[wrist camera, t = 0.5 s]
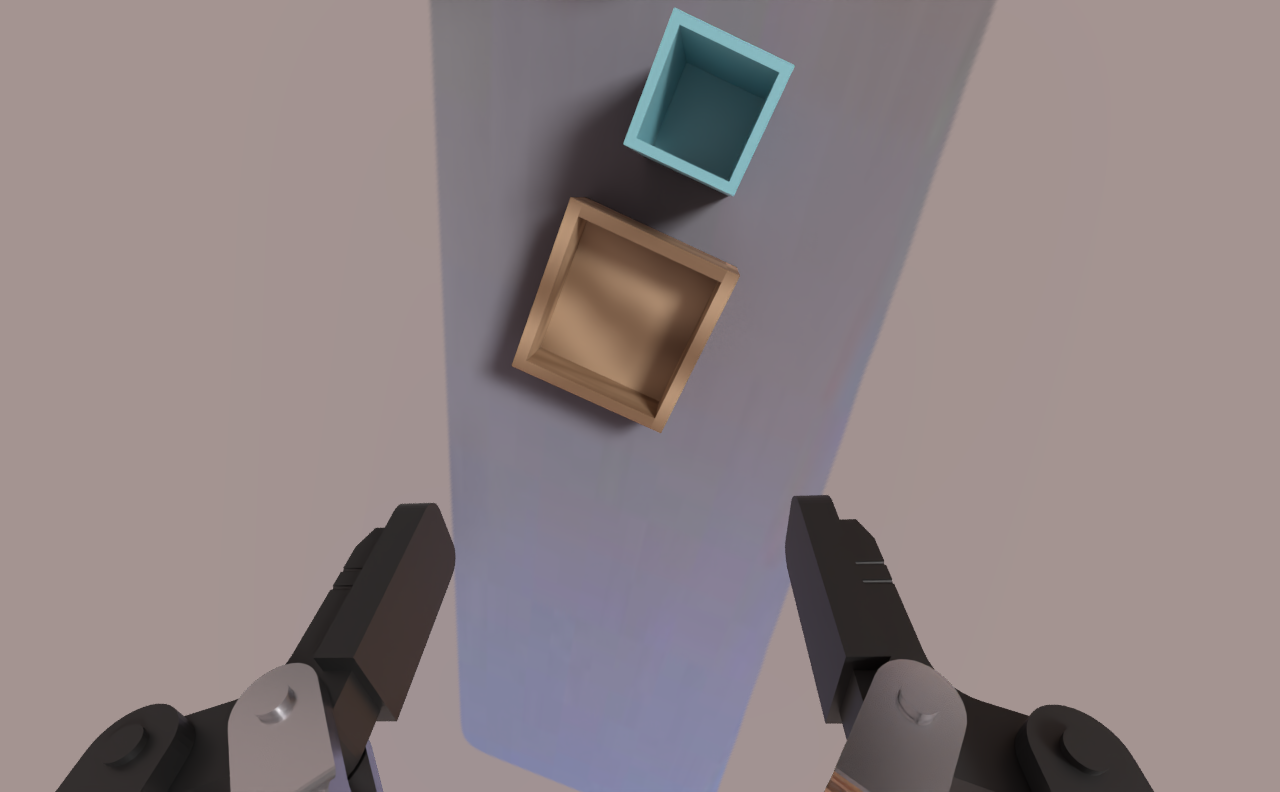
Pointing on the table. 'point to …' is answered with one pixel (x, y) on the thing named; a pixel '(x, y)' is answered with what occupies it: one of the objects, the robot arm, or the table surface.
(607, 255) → the walnut crate
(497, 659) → the table surface
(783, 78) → the teal crate
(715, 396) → the table surface
